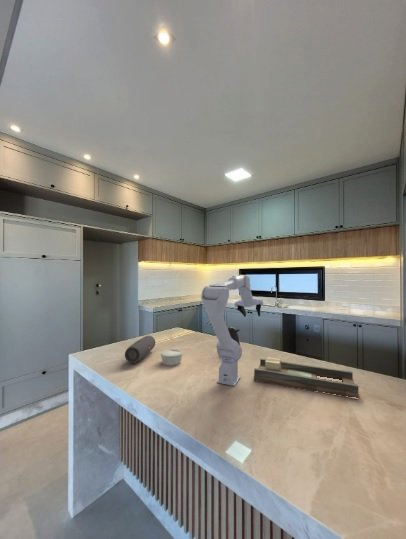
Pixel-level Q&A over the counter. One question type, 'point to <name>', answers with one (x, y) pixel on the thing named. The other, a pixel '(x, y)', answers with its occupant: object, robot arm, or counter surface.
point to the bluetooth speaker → (140, 349)
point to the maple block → (273, 364)
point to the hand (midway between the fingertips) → (252, 315)
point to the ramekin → (171, 357)
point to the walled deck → (309, 378)
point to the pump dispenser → (234, 334)
